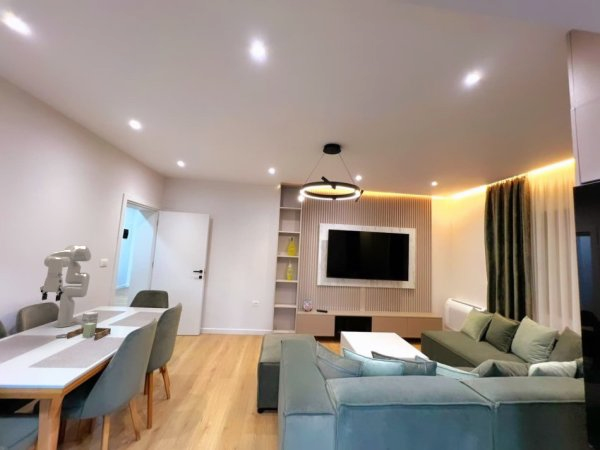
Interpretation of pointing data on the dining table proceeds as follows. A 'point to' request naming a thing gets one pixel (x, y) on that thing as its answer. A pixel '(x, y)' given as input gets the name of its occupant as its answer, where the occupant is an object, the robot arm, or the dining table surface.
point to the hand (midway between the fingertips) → (51, 300)
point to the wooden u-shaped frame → (99, 332)
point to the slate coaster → (61, 336)
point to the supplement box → (89, 318)
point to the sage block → (89, 330)
